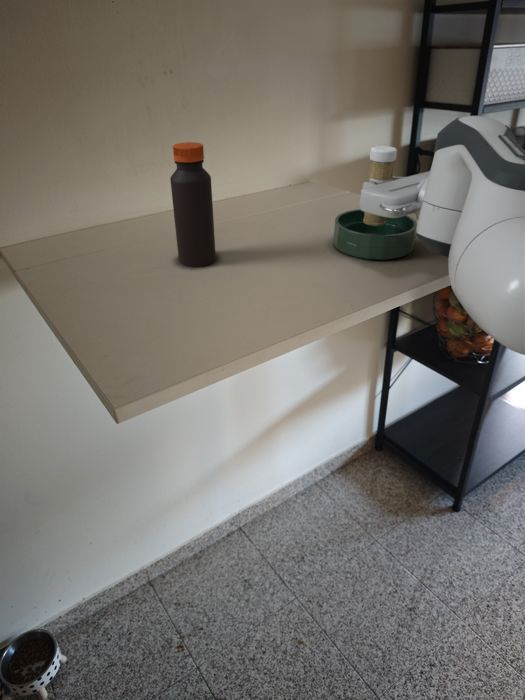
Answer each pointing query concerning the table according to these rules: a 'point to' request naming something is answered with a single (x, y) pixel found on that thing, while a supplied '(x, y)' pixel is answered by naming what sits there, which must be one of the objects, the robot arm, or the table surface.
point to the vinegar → (192, 206)
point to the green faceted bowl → (374, 236)
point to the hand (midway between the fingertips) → (376, 183)
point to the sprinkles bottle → (380, 175)
